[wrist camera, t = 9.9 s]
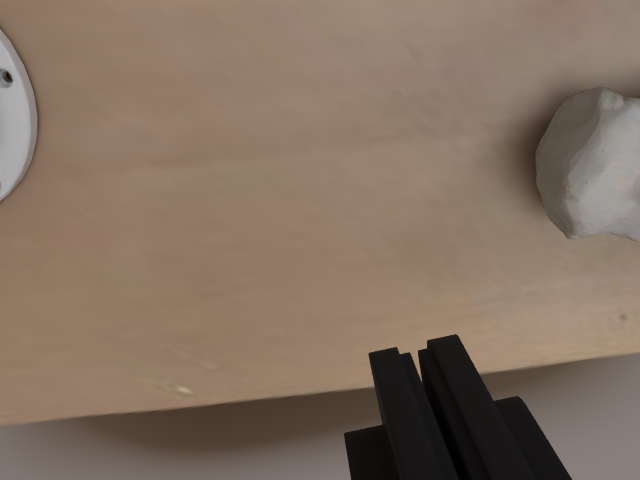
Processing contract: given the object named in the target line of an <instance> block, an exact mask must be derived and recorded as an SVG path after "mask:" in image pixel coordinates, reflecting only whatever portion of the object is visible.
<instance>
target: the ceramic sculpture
mask: <svg viewBox="0 0 640 480" xmlns="http://www.w3.org/2000/svg"><path fill="white" fill-rule="evenodd" d="M535 160H536V171H537V175H536V185H537V187H538V190H539V191H540V194H541V198H542V202H543V206H544V209H545V211H546V213H547V215H548V218H549V219H550V220H551V221H552V222H553V223H554V224H555V225H556V226H557V227H558V228H559V229H560V230H561V231H562V232H563V233H564V235H565V236H566V237H567V238H568V239H577V238H585V237H588V236H590V235H597V234H602V233H607V232H610V233H612V234H615V235H619V236H624V237H627V238H629V239H632V240H635V241H640V98H634V97H623V96H622V95H620V94H618V93H615V92H613V91H611V90H610V89H608V88H594V89H590V90H585V91H582V92H579V93H577V94H575V95H573V96H571V97H569V98H568V99H567V100H566V101H565V102H564V103H563V104H562V105H561V106H560V107H559V108H558V109H557V110H556V112H555V114H554V116H553V118H552V120H551V122H550V124H549V126H548V128H547V130H546V132H545V133H544V135H543V137H542V138H541V140H540V143H539V145H538V147H537V150H536V159H535Z"/></svg>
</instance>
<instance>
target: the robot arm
mask: <svg viewBox="0 0 640 480" xmlns="http://www.w3.org/2000/svg"><path fill="white" fill-rule="evenodd" d="M7 72H9V73H10V75H11V76H12V80H13V81H10V80H9V79H8V78H7V75H6V74H7ZM37 122H38V115H37V109H36V103H35V97H34V91H33V89H32V86H31V83H30V80H29V78H28V75H27V72H26V69H25V67H24V65H23V63H22V61H21V59H20V58H19V56H18V54H17V52H16V51H15V49H14V47H13V45H12V44H11V42H10V41H9V39H8V38H7V37H6V35H5V34H4V33H3V32H2V30H1V29H0V201H1V200H3V199H4V198H5V197H6V196H8V195H9V194H10V193H11V192H12V191H13V189H14V188H15V187H16V186H17V185H18V183H19V182H20V181H21V180H22V179H23V177H24V175H25V173H26V171H27V169H28V167H29V165H30V163H31V161H32V158H33V153H34V149H35V145H36V141H37ZM418 357H419V363H420V370H421V376H422V382H421V380H420V377H419V374H418V372H417V369H416V367H415V364H414V361H413V359H412V356H411V354H410V352H408V353H404V354H399V351H398V349H397V347H394V348H389V349H385V350H380V351H375V352H371V353H369V360H370V365H371V370H372V375H373V380H374V385H375V390H376V394H377V399H378V405H379V409H380V415H381V419H382V425H379V426H375V427H370V428H365V429H361V430H356V431H351V432H346V433H344V437H345V444H346V450H347V456H348V462H349V468H350V474H351V480H572V479H571V477H570V475H569V474H568V472H567V471H566V469H565V468H564V466H563V464H562V463H561V461H560V459H559V458H558V456H557V455H556V453H555V451H554V450H553V448H552V446H551V445H550V443H549V441H548V440H547V438H546V437H545V435H544V433H543V432H542V430H541V429H540V427H539V425H538V424H537V422H536V420H535V419H534V418H533V416H532V414H531V412H530V411H529V409H528V408H527V406H526V404H525V403H524V402H523V400H522V399H521V398H520V397H518V396H515V397H510V398H506V399H501V400H496V401H493V399H492V397H491V395H490V393H489V392H488V390H487V388H486V386H485V384H484V382H483V381H482V379H481V377H480V375H479V373H478V371H477V370H476V368H475V366H474V364H473V362H472V360H471V359H470V357H469V355H468V353H467V351H466V349H465V348H464V346H463V344H462V342H461V340H460V338H459V337H458V335H456V334H455V335H450V336H445V337H441V338H436V339H431V340H428V341H427V349H422V350H418ZM422 383H423V385H422Z"/></svg>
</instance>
